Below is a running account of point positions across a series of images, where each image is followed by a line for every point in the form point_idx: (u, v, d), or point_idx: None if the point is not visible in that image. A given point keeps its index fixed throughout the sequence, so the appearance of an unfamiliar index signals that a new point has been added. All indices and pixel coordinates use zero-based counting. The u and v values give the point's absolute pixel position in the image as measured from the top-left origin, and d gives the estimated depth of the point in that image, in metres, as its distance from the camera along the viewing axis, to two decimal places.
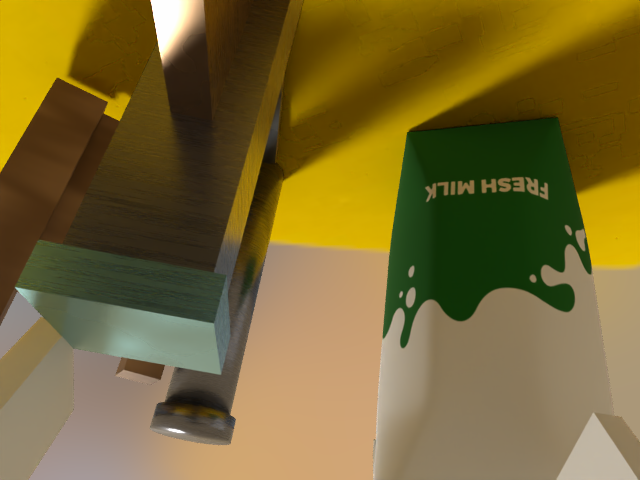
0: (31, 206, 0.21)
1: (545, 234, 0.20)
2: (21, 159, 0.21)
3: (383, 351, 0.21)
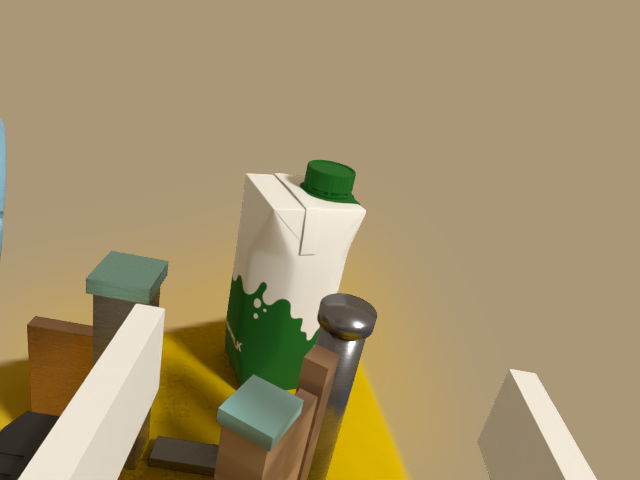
0: None
1: None
2: None
3: (285, 292, 0.39)
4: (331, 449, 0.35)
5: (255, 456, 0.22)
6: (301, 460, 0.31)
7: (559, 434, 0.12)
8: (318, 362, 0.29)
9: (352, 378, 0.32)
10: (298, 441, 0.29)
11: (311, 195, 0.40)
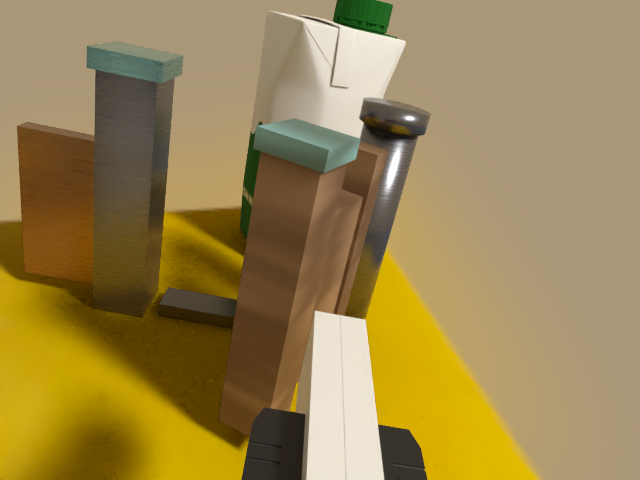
0: None
1: None
2: None
3: None
4: (370, 292, 0.30)
5: (303, 191, 0.17)
6: (339, 285, 0.26)
7: (359, 367, 0.12)
8: (365, 150, 0.24)
9: (398, 196, 0.27)
10: (340, 245, 0.24)
11: (343, 25, 0.35)
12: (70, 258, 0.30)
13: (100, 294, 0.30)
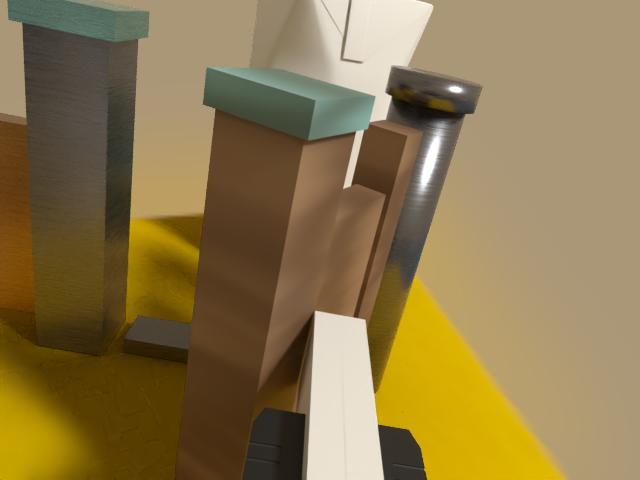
0: None
1: None
2: None
3: None
4: (397, 322, 0.23)
5: (277, 171, 0.11)
6: (352, 314, 0.20)
7: (359, 367, 0.12)
8: (390, 130, 0.17)
9: (437, 196, 0.21)
10: (352, 260, 0.17)
11: None
12: (7, 281, 0.23)
13: (46, 328, 0.23)
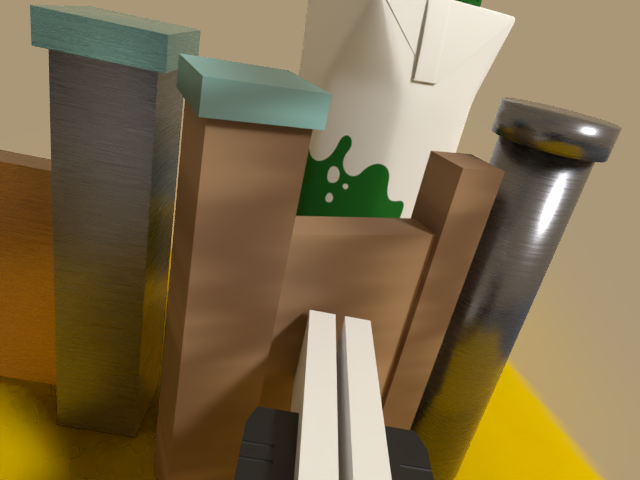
0: None
1: None
2: None
3: (382, 151, 0.24)
4: (488, 400, 0.19)
5: (197, 151, 0.11)
6: (390, 366, 0.17)
7: (365, 368, 0.12)
8: (451, 160, 0.15)
9: (551, 258, 0.17)
10: (373, 296, 0.15)
11: None
12: (23, 349, 0.19)
13: (69, 406, 0.19)
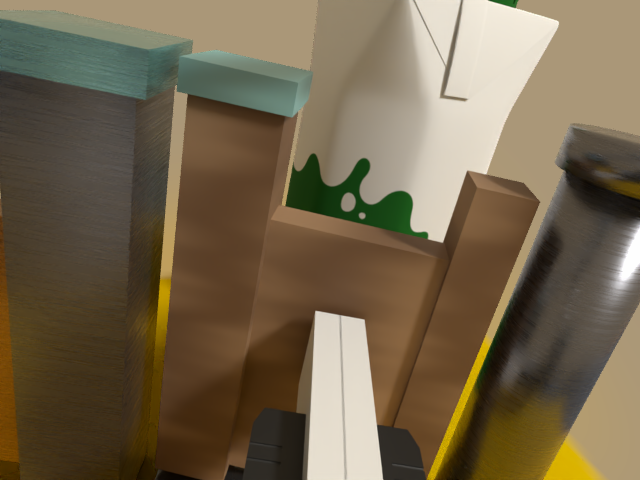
0: None
1: None
2: None
3: (406, 177, 0.21)
4: None
5: None
6: (396, 400, 0.16)
7: (358, 367, 0.12)
8: (477, 181, 0.13)
9: (628, 322, 0.14)
10: (371, 311, 0.14)
11: None
12: None
13: None
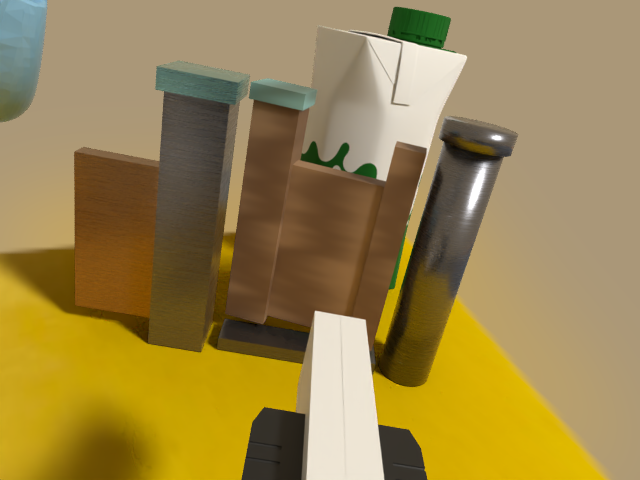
0: None
1: None
2: None
3: (371, 154, 0.33)
4: (445, 322, 0.28)
5: None
6: (360, 271, 0.28)
7: (359, 367, 0.12)
8: (398, 145, 0.26)
9: (480, 220, 0.26)
10: (345, 216, 0.27)
11: (401, 40, 0.33)
12: (124, 290, 0.28)
13: (157, 328, 0.28)
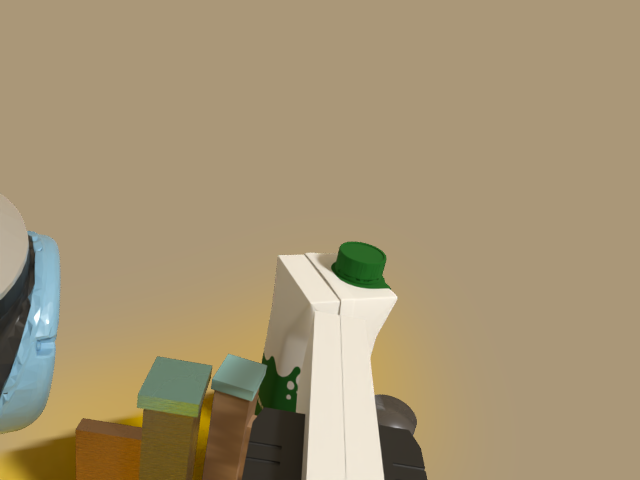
0: None
1: None
2: None
3: None
4: None
5: None
6: None
7: (359, 367, 0.12)
8: None
9: None
10: None
11: (343, 281, 0.40)
12: None
13: None
